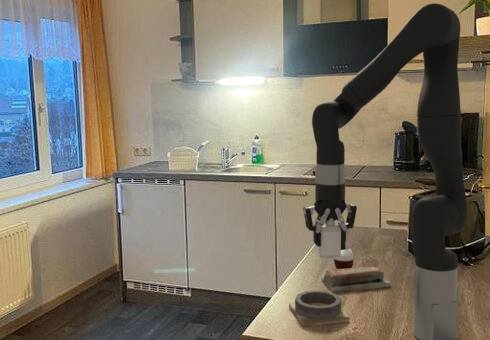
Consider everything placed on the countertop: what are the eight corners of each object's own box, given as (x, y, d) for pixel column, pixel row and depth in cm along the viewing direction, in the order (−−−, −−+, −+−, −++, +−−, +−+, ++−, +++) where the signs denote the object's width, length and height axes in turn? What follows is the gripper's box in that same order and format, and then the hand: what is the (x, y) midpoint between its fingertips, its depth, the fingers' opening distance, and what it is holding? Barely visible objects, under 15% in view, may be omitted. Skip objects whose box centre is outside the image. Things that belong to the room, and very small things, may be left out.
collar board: (349, 321, 133) (349, 305, 133) (303, 326, 131) (303, 310, 130) (331, 302, 145) (331, 288, 144) (289, 307, 142) (289, 292, 142)
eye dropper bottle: (337, 260, 135) (338, 214, 134) (316, 257, 138) (316, 212, 136) (342, 255, 139) (343, 210, 137) (321, 252, 142) (322, 208, 140)
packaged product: (333, 277, 151) (321, 266, 161) (332, 294, 152) (321, 282, 162) (391, 272, 155) (376, 261, 165) (391, 288, 156) (376, 276, 165)
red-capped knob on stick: (350, 275, 167) (351, 238, 164) (330, 272, 169) (331, 236, 167) (356, 264, 175) (357, 229, 173) (337, 262, 178) (338, 227, 175)
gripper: (307, 185, 130) (307, 251, 133) (362, 182, 133) (361, 247, 136) (298, 179, 138) (298, 242, 140) (351, 177, 140) (350, 239, 143)
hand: (329, 244), depth 138 cm, fingers closed on eye dropper bottle, 5 cm apart
